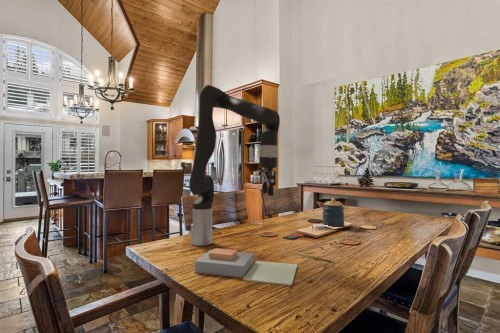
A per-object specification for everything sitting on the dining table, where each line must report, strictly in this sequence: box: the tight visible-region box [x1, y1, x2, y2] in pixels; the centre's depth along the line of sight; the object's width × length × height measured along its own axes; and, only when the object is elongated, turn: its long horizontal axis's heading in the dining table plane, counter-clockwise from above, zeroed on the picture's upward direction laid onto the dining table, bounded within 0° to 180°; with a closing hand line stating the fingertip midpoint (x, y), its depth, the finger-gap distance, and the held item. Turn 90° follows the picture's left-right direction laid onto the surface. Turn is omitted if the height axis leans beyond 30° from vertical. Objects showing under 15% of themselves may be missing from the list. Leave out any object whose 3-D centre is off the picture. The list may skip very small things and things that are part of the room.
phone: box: [282, 231, 305, 241], centre depth 149 cm, size 6×1×15 cm
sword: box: [286, 249, 335, 264], centre depth 117 cm, size 25×4×1 cm, turn 45°
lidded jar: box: [321, 197, 345, 228], centre depth 170 cm, size 13×13×18 cm
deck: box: [194, 249, 255, 279], centre depth 104 cm, size 18×14×4 cm
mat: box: [242, 260, 298, 287], centre depth 99 cm, size 16×18×1 cm
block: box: [209, 247, 238, 261], centre depth 104 cm, size 9×6×2 cm, turn 75°
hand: (267, 194), depth 119 cm, fingers open, 8 cm apart
